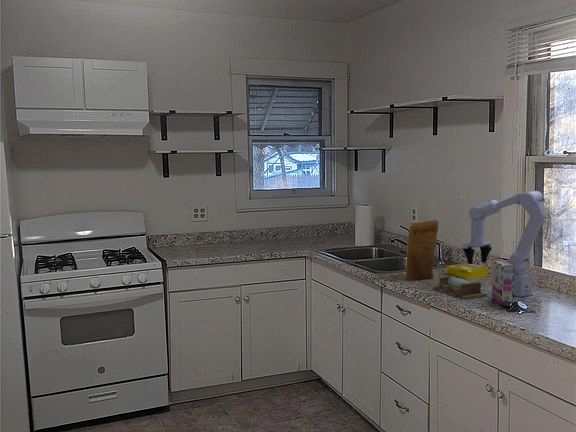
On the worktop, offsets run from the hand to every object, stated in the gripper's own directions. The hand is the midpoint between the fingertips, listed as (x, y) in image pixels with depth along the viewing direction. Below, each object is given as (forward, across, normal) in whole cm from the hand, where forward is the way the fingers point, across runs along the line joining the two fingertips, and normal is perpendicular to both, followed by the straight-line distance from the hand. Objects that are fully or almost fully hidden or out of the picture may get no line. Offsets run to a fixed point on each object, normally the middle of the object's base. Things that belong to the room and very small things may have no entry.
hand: (476, 263), depth 258 cm
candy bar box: (+11, +11, +28) cm, 32 cm away
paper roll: (+7, +15, +7) cm, 18 cm away
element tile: (+11, -12, -21) cm, 27 cm away
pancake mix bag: (+11, +14, -22) cm, 28 cm away
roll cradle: (+10, +15, +7) cm, 20 cm away
